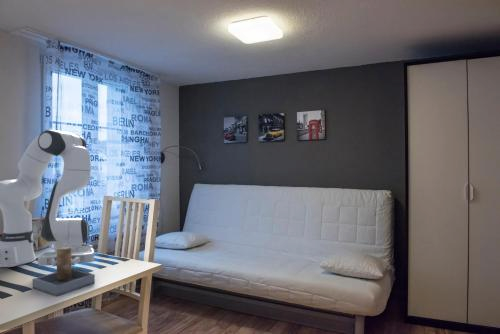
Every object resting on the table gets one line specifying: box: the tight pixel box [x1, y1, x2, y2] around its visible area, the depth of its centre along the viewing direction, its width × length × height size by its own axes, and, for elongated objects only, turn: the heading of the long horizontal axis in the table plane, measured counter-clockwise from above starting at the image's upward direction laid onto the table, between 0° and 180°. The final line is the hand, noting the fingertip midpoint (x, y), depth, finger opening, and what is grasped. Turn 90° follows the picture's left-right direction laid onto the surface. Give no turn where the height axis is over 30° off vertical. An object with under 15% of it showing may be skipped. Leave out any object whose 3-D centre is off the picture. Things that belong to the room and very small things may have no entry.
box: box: [31, 267, 96, 297], centre depth 135 cm, size 15×15×4 cm
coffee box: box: [32, 216, 50, 251], centre depth 189 cm, size 9×6×16 cm
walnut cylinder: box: [56, 247, 72, 282], centre depth 135 cm, size 5×5×12 cm
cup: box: [49, 240, 68, 252], centre depth 177 cm, size 11×8×8 cm
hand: (63, 263), depth 134 cm, fingers closed on walnut cylinder, 5 cm apart
